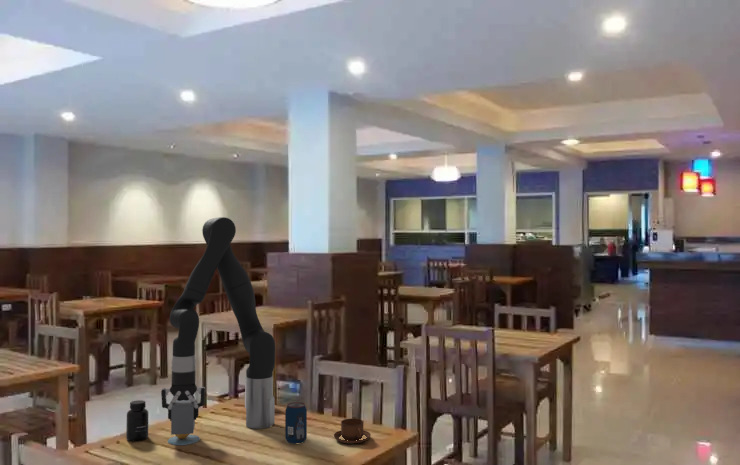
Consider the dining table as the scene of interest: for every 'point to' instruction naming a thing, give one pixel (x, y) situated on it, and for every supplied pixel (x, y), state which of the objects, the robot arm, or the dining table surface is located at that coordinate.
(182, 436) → the ball
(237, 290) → the robot arm
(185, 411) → the rectangular block
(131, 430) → the supplement bottle
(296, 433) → the soda can
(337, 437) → the rectangular block and saucer
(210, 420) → the dining table surface
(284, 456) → the dining table surface
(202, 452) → the dining table surface
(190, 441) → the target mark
